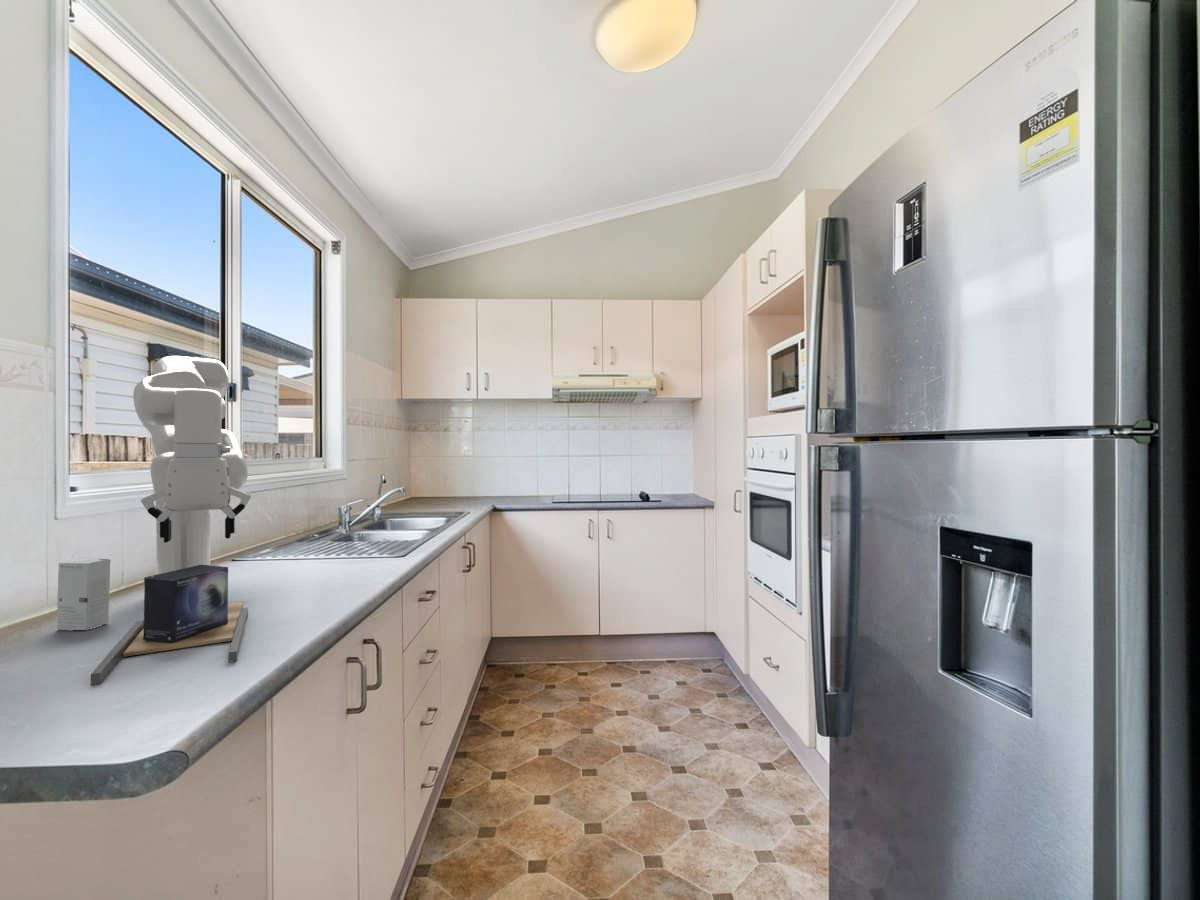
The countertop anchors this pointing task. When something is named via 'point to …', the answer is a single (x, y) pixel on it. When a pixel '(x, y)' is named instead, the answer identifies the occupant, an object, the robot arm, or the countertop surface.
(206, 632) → the thin plywood board
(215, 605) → the small box
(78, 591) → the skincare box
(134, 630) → the guide rails
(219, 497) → the robot arm
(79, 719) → the countertop surface
